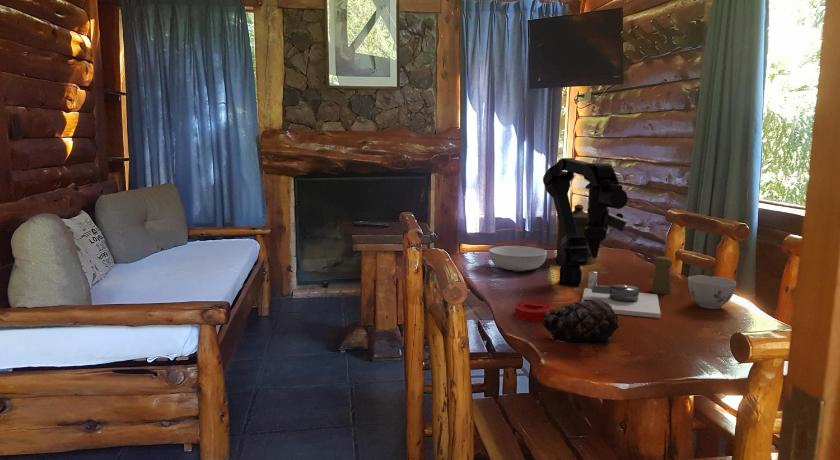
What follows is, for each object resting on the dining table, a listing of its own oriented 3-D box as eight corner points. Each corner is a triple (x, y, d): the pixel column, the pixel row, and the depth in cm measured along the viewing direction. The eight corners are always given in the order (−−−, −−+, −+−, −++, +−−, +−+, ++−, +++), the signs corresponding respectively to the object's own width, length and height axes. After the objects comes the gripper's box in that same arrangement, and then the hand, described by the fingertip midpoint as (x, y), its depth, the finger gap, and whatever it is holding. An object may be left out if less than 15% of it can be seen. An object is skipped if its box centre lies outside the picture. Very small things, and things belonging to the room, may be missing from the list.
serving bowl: (554, 267, 223) (555, 249, 222) (533, 278, 206) (533, 258, 205) (503, 260, 234) (503, 243, 233) (478, 270, 217) (479, 251, 216)
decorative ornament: (519, 322, 158) (519, 311, 158) (511, 311, 168) (512, 300, 167) (555, 322, 159) (556, 310, 158) (545, 311, 168) (546, 300, 168)
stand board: (579, 310, 169) (580, 304, 169) (584, 291, 189) (585, 287, 188) (660, 318, 162) (660, 312, 162) (656, 298, 182) (657, 293, 182)
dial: (638, 295, 179) (639, 272, 178) (638, 302, 171) (640, 278, 170) (588, 291, 183) (589, 268, 182) (586, 298, 176) (588, 274, 175)
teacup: (743, 312, 168) (745, 284, 166) (699, 313, 167) (701, 285, 166) (714, 298, 183) (717, 272, 181) (674, 298, 182) (676, 272, 181)
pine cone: (537, 333, 150) (538, 293, 148) (608, 332, 150) (610, 293, 149) (547, 347, 139) (549, 305, 138) (623, 347, 140) (626, 305, 138)
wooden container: (594, 258, 240) (597, 203, 237) (596, 266, 226) (599, 207, 222) (556, 256, 243) (558, 201, 240) (556, 263, 229) (558, 206, 226)
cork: (672, 294, 186) (675, 259, 185) (652, 293, 188) (654, 258, 186) (669, 289, 192) (671, 255, 190) (649, 288, 193) (651, 254, 192)
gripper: (626, 209, 170) (622, 264, 173) (626, 202, 188) (623, 252, 190) (585, 208, 174) (582, 261, 176) (589, 201, 191) (586, 249, 194)
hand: (595, 255), depth 184 cm, fingers open, 6 cm apart
